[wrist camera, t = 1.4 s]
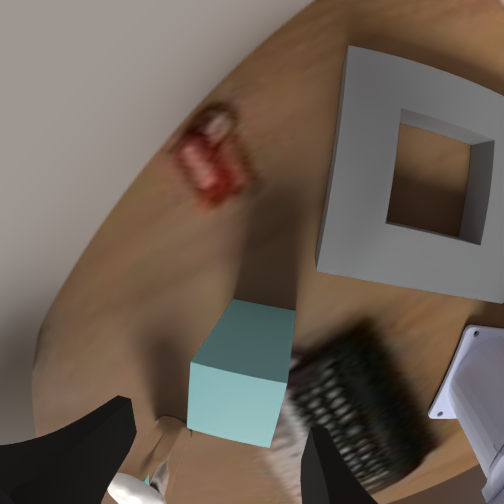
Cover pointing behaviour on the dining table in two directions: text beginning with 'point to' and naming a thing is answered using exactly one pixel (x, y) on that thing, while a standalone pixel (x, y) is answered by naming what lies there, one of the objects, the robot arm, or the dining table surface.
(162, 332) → the dining table surface
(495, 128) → the socket block
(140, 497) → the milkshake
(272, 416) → the peg
